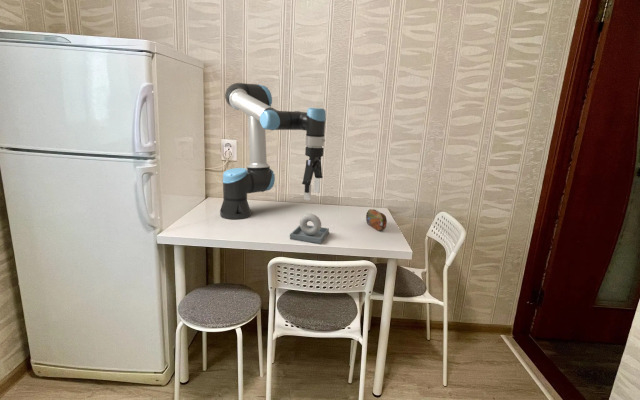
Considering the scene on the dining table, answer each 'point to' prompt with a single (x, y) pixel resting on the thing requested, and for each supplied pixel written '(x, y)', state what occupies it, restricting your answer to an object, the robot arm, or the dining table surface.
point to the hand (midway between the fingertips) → (311, 196)
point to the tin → (376, 219)
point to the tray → (316, 238)
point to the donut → (313, 219)
